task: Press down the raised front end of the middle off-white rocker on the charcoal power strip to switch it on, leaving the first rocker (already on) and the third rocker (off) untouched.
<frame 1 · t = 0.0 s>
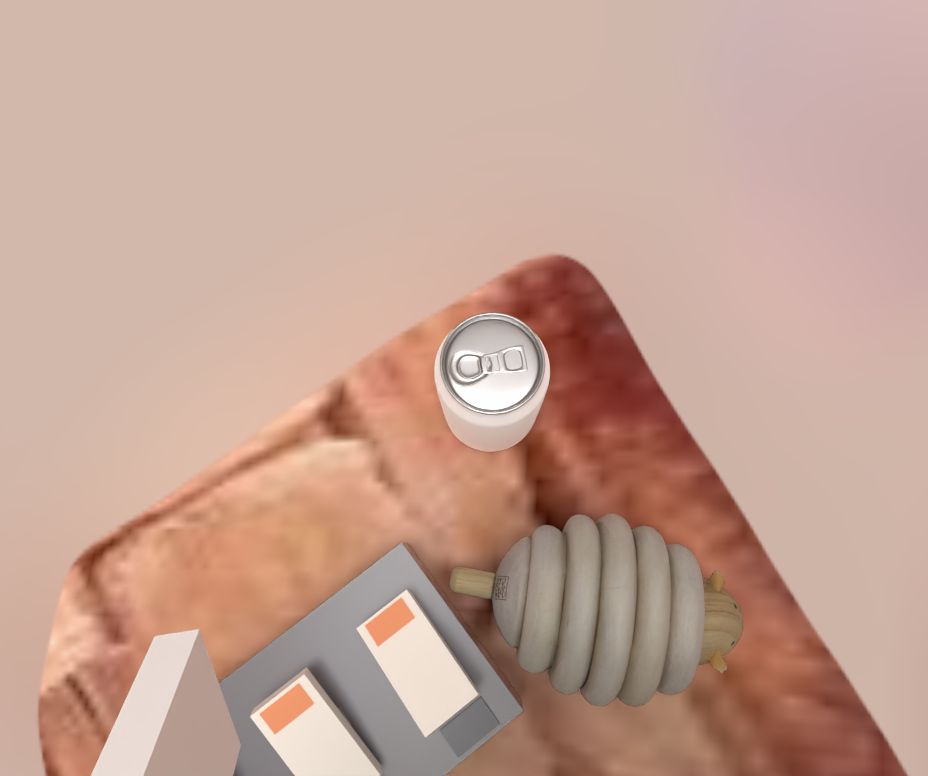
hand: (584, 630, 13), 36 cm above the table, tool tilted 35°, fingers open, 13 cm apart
grey ribbed rounded piece: (584, 594, 48), on the table
rocker 1: (418, 661, 41), point 6 cm above the table, hinge at 12.0°
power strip: (337, 718, 46), on the table
rocker 2: (316, 741, 41), point 6 cm above the table, hinge at -12.0°
can: (490, 407, 51), on the table
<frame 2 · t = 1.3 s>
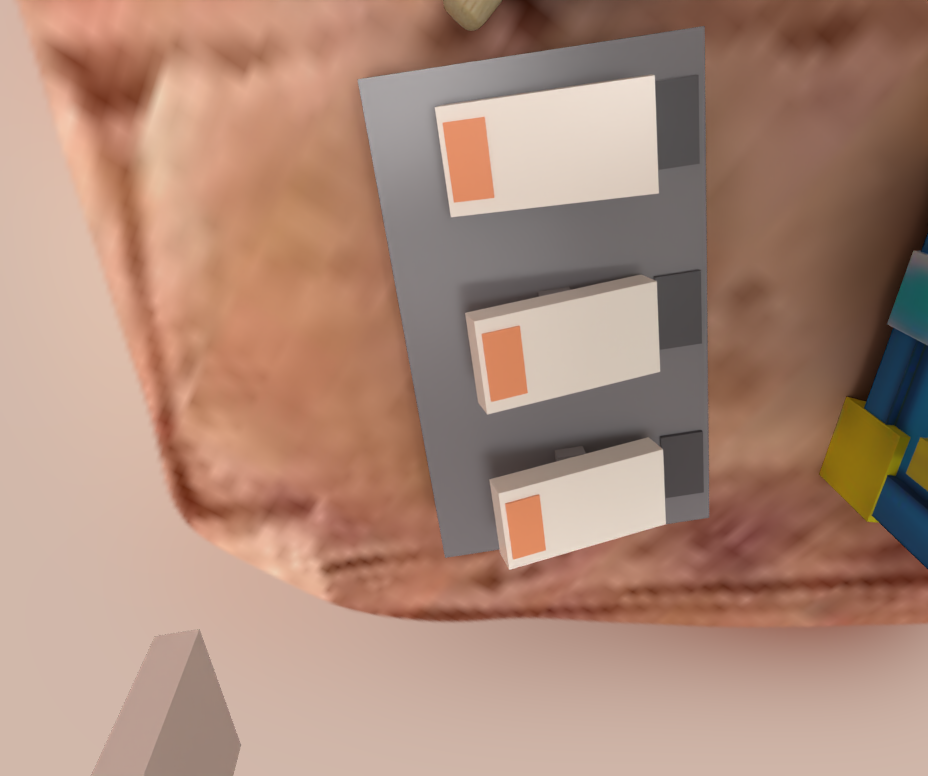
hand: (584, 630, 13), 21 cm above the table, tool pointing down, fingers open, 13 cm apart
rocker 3: (579, 501, 30), point 6 cm above the table, hinge at -12.0°
rocker 1: (547, 148, 24), point 6 cm above the table, hinge at 12.0°
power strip: (541, 300, 33), on the table
rocker 2: (565, 342, 27), point 6 cm above the table, hinge at -12.0°
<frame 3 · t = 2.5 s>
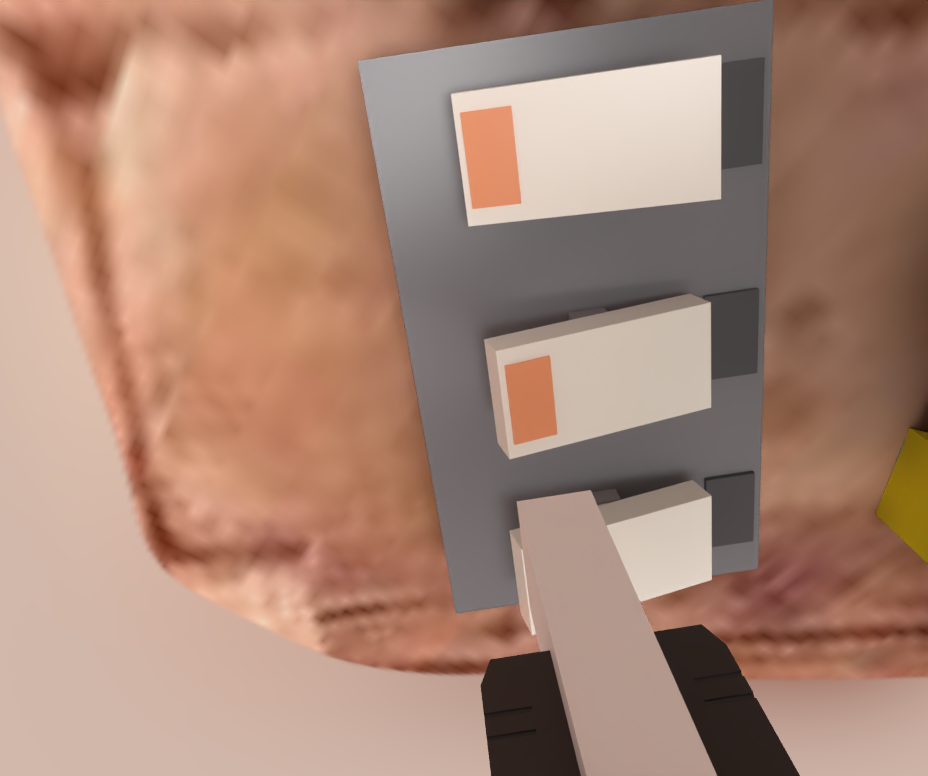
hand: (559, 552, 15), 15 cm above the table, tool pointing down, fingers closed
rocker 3: (613, 555, 26), point 6 cm above the table, hinge at -12.0°
rocker 1: (586, 144, 20), point 6 cm above the table, hinge at 12.0°
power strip: (567, 319, 28), on the table
rocker 2: (600, 374, 23), point 6 cm above the table, hinge at -12.0°
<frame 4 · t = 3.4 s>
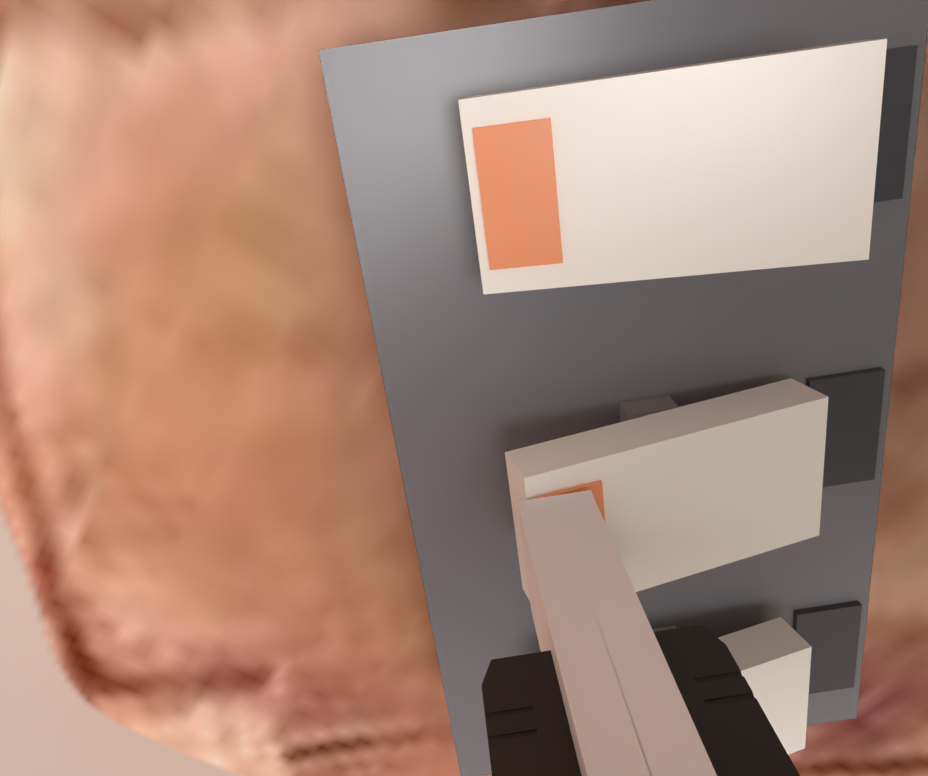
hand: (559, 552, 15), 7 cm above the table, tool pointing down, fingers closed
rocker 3: (675, 722, 19), point 6 cm above the table, hinge at -12.0°
rocker 1: (660, 174, 14), point 6 cm above the table, hinge at 12.0°
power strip: (607, 393, 22), on the table
rocker 2: (669, 494, 16), point 6 cm above the table, hinge at -12.0°, touching gripper
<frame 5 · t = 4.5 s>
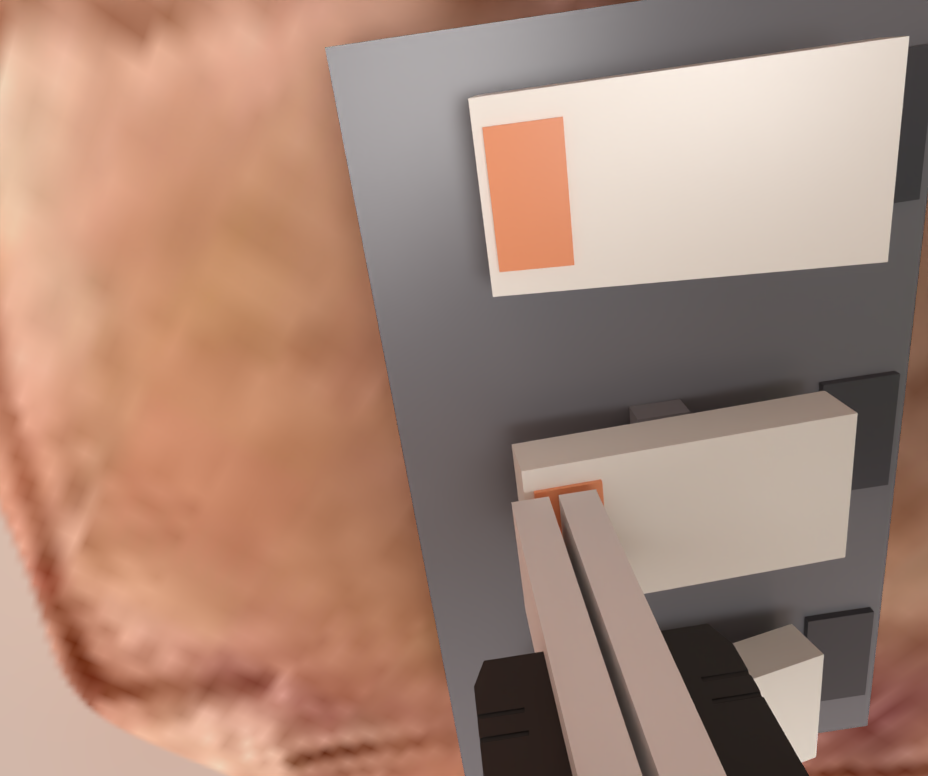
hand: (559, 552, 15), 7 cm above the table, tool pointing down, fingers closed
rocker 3: (685, 731, 19), point 6 cm above the table, hinge at -12.0°
rocker 1: (674, 174, 13), point 6 cm above the table, hinge at 12.0°
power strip: (615, 396, 21), on the table
rocker 2: (680, 500, 16), point 6 cm above the table, hinge at -2.5°
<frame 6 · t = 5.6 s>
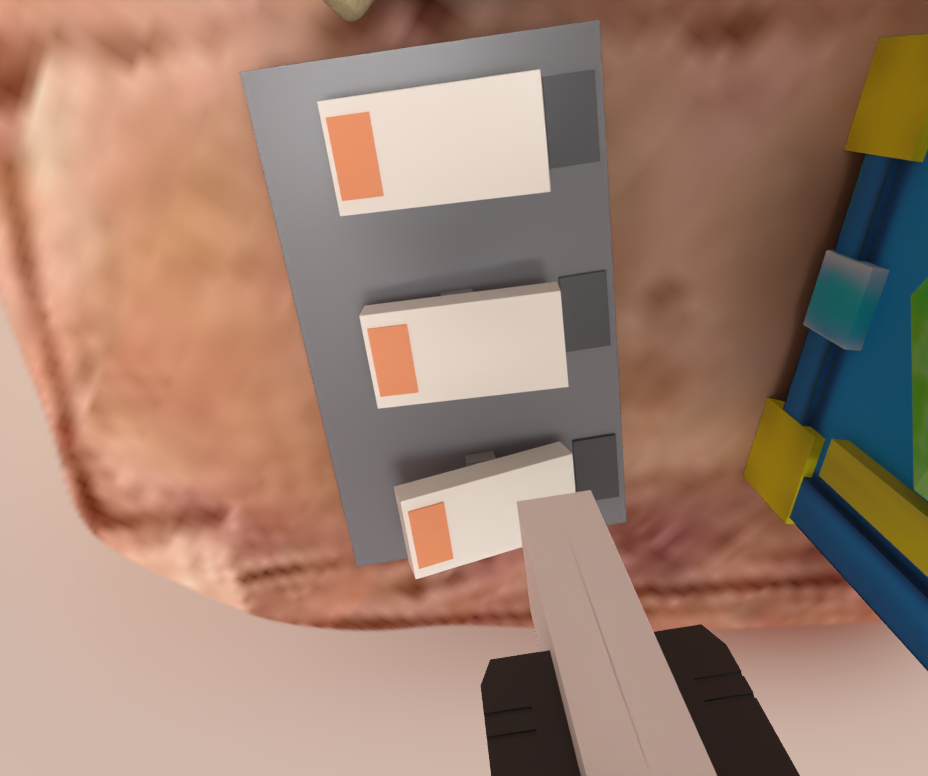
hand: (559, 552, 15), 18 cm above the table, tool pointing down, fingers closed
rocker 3: (488, 508, 29), point 6 cm above the table, hinge at -12.0°
rocker 1: (437, 144, 24), point 6 cm above the table, hinge at 12.0°
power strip: (453, 301, 32), on the table
rocker 2: (466, 345, 26), point 6 cm above the table, hinge at 6.3°
decorative book: (889, 294, 34), on the table
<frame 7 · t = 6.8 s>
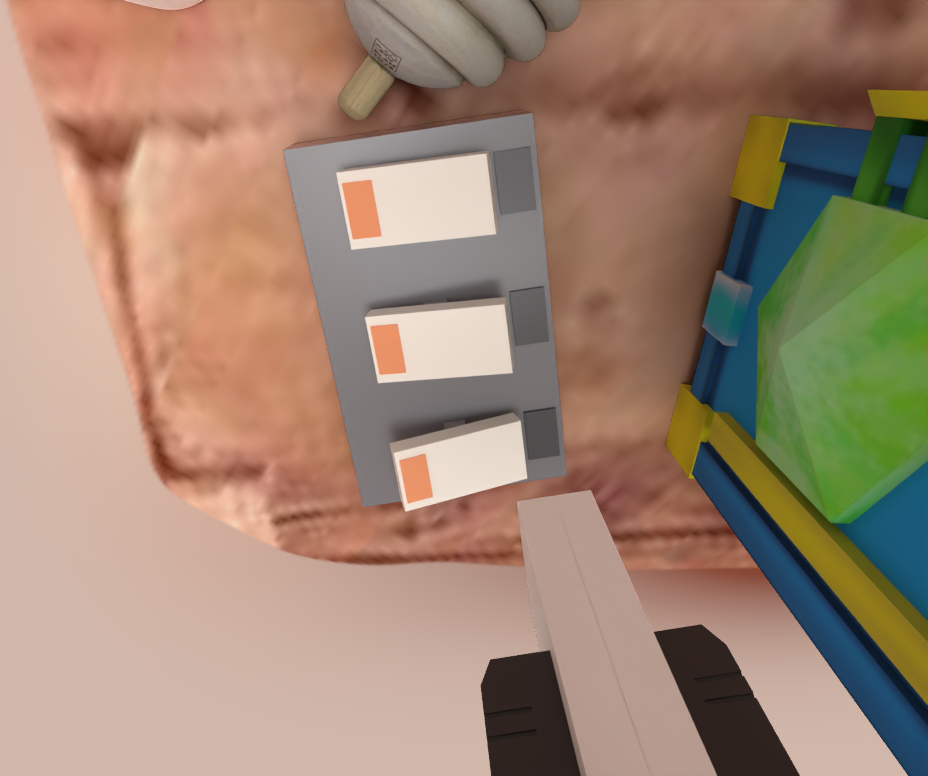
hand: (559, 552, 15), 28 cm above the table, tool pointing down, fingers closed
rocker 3: (459, 460, 40), point 6 cm above the table, hinge at -12.0°
rocker 1: (418, 201, 34), point 6 cm above the table, hinge at 12.0°
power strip: (436, 308, 42), on the table
rocker 2: (441, 340, 37), point 6 cm above the table, hinge at 11.6°
decorative book: (773, 304, 44), on the table
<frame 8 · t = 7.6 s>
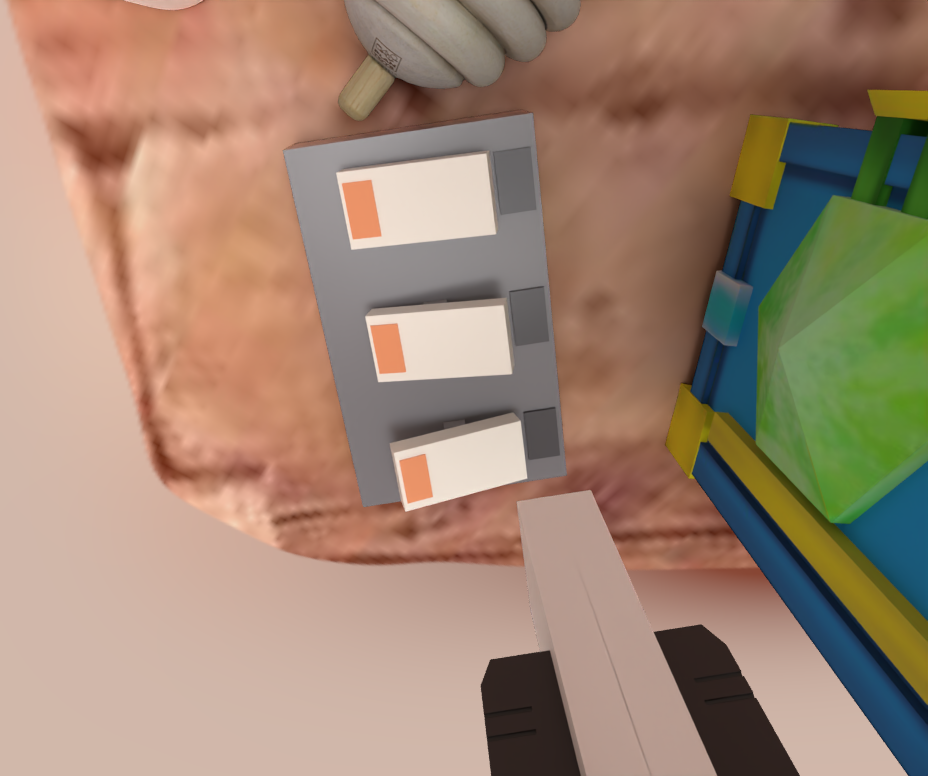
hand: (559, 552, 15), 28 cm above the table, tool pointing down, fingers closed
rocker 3: (459, 460, 40), point 6 cm above the table, hinge at -12.0°
rocker 1: (418, 201, 34), point 6 cm above the table, hinge at 12.0°
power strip: (436, 308, 42), on the table
rocker 2: (441, 340, 37), point 6 cm above the table, hinge at 13.7°
decorative book: (773, 304, 44), on the table
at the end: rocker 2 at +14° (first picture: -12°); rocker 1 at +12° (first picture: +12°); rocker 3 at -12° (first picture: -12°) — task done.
